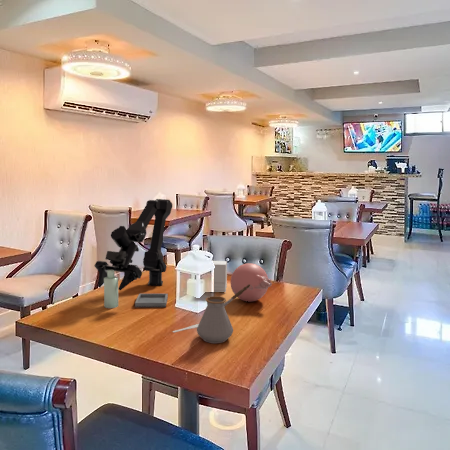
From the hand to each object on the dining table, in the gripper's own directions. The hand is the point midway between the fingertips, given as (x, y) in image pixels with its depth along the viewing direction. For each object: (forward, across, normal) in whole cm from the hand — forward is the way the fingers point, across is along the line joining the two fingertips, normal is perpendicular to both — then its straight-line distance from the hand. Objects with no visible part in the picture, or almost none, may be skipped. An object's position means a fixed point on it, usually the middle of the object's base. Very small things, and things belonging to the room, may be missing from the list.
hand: (109, 288), depth 155 cm
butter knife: (+14, +33, -3) cm, 36 cm away
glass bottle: (+4, 0, +6) cm, 7 cm away
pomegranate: (-15, +48, +25) cm, 56 cm away
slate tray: (-3, +12, +13) cm, 18 cm away
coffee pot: (+10, +50, +1) cm, 51 cm away
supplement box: (-21, +30, +32) cm, 48 cm away
